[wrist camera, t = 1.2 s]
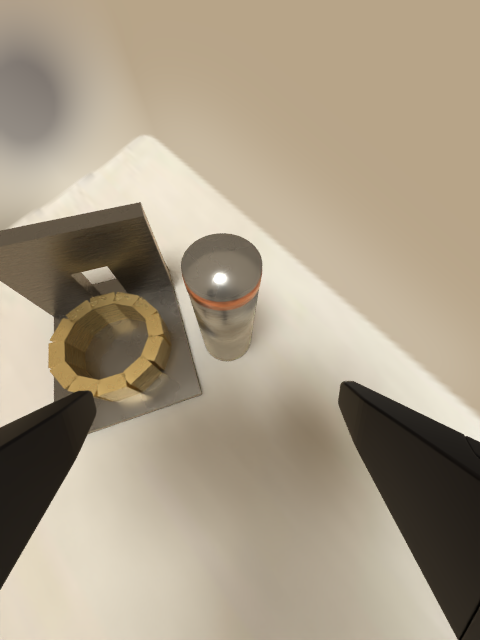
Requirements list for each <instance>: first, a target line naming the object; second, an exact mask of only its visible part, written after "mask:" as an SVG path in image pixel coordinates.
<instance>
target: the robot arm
mask: <svg viewBox="0 0 480 640" xmlns="http://www.w3.org/2000/svg"><path fill="white" fill-rule="evenodd" d="M338 404H339V408H340V410H341V413H342V415H343V418H344V420H345V422H346V425H347V427H348V430H349V432H350V435H351V437H352V440H353V442H354V444H355V447H356V448H357V450H358V452H359V454H360V456H361V458H362V460H363V462H364V464H365V466H366V468H367V469H368V471H369V473H370V475H371V477H372V479H373V481H374V483H375V485H376V486H377V488H378V490H379V492H380V494H381V496H382V498H383V500H384V501H385V503H386V505H387V507H388V509H389V511H390V513H391V515H392V517H393V518H394V520H395V522H396V524H397V526H398V528H399V530H400V532H401V534H402V535H403V537H404V539H405V541H406V543H407V545H408V547H409V549H410V550H411V552H412V554H413V556H414V558H415V560H416V562H417V564H418V566H419V567H420V569H421V571H422V573H423V575H424V577H425V579H426V581H427V582H428V584H429V586H430V588H431V590H432V592H433V594H434V596H435V598H436V599H437V601H438V603H439V605H440V607H441V609H442V611H443V613H444V615H445V616H446V618H447V620H448V622H449V624H450V626H451V628H452V630H453V631H454V633H455V635H456V637H457V639H458V640H480V442H478V441H476V440H474V439H472V438H470V437H468V436H464V434H462V433H460V432H458V431H456V430H453V429H451V428H449V427H447V426H445V425H443V424H441V423H439V422H437V421H435V420H433V419H431V418H429V417H427V416H424V415H422V414H420V413H418V412H416V411H414V410H412V409H410V408H408V407H406V406H404V405H402V404H400V403H398V402H396V401H393V400H391V399H389V398H387V397H385V396H383V395H381V394H379V393H377V392H375V391H373V390H371V389H369V388H367V387H365V386H362V385H360V384H358V383H356V382H354V381H344V382H342V383H341V385H340V392H339V399H338ZM96 413H97V409H96V405H95V401H94V397H93V394H92V392H91V391H89V390H85V391H76V392H74V393H72V394H70V395H68V396H66V397H64V398H62V399H59V400H57V401H55V402H53V403H51V404H49V405H47V406H45V407H43V408H41V409H38V410H36V411H34V412H32V413H30V414H28V415H26V416H24V417H22V418H20V419H17V420H15V421H13V422H11V423H9V424H7V425H5V426H3V427H1V428H0V589H1V588H2V586H3V584H4V583H5V581H6V579H7V577H8V576H9V574H10V572H11V570H12V569H13V567H14V565H15V564H16V562H17V560H18V558H19V557H20V555H21V553H22V552H23V550H24V548H25V546H26V545H27V543H28V541H29V539H30V538H31V536H32V534H33V533H34V531H35V529H36V527H37V526H38V524H39V522H40V520H41V519H42V517H43V515H44V514H45V512H46V510H47V508H48V507H49V505H50V503H51V501H52V500H53V498H54V496H55V495H56V493H57V491H58V489H59V488H60V486H61V484H62V482H63V481H64V479H65V477H66V476H67V474H68V472H69V470H70V469H71V467H72V465H73V463H74V462H75V460H76V458H77V456H78V454H79V452H80V450H81V447H82V445H83V443H84V441H85V439H86V437H87V434H88V432H89V430H90V428H91V426H92V424H93V421H94V419H95V417H96Z"/></svg>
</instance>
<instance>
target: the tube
mask: <svg viewBox="0 0 480 640" xmlns="http://www.w3.org/2000/svg"><path fill="white" fill-rule="evenodd" d="M181 271H182V276H183V280H184V283H185V286H186V289H187V292H188V293H189V296H190V300H191V303H192V306H193V309H194V312H195V315H196V318H197V321H198V324H199V328H200V331H201V334H202V337H203V340H204V343H205V346H206V349H207V350H208V352H209V353H210V354H211V355H212V356H213V357H214V358H216V359H218V360H222V361H233V360H236V359H238V358H240V357H242V356H243V355H244V354H245V353H246V352H247V350H248V348H249V346H250V341H251V335H252V329H253V322H254V316H255V310H256V303H257V297H258V291H259V287H260V282H261V276H262V259H261V256H260V253H259V252H258V250H257V249H256V247H255V246H254V245H253V244H252V243H250V242H249V241H248V240H246V239H244V238H242V237H240V236H236V235H232V234H212V235H208V236H205V237H203V238H201V239H199V240H197V241H195V242H194V243H193V244H192V245H190V246H189V248H188V249H187V250H186V252H185V253H184V255H183V258H182V261H181Z"/></svg>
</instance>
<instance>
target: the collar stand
mask: <svg viewBox="0 0 480 640" xmlns="http://www.w3.org/2000/svg"><path fill="white" fill-rule="evenodd" d="M105 266H108V268H109V269H110V270H111V272H112V273H113V274H114V276H115V277H116V278H117V279H114V280H110V281H106V282H102V283H98V284H94V285H92V284H91V283H90V282H89V280H88V279H87V278H86V277H85V276H84V275H83V274H82V273H81V272H84V271H88V270H92V269H96V268H101V267H105ZM0 281H1V282H3V283H4V284H6V285H7V286H9V287H10V288H12V289H13V290H15V291H16V292H18V293H19V294H21V295H22V296H24V297H25V298H27V299H28V300H30V301H31V302H33V303H34V304H36V305H37V306H39V307H40V308H42V309H43V310H45V311H46V312H48V313H49V314H51V315H52V316H54V334H53V336H52V337H51V339H50V341H52V342H53V343H49V366H48V368H51V370H50V372H51V373H52V374H53V376H54V402H55V401H57V400H59V399H62V398H64V397H66V396H68V395H70V394H72V393H74V392H76V391H85V390H89V391H91V392H92V394H93V397H94V401H95V405H96V409H97V413H96V417H95V419H94V421H93V424H92V426H91V428H90V430H89V432H88V434H89V433H92V432H95V431H98V430H101V429H104V428H107V427H110V426H112V425H115V424H118V423H121V422H124V421H127V420H130V419H133V418H136V417H138V416H141V415H144V414H147V413H150V412H153V411H156V410H159V409H161V408H164V407H167V406H170V405H173V404H176V403H179V402H182V401H185V400H187V399H190V398H193V397H196V396H199V395H202V393H201V389H200V386H199V382H198V378H197V374H196V371H195V367H194V363H193V359H192V356H191V352H190V348H189V344H188V341H187V337H186V333H185V329H184V326H183V322H182V318H181V314H180V311H179V307H178V303H177V299H176V296H175V292H174V288H173V284H172V281H171V277H170V273H169V269H168V267H167V266H166V265H165V262H164V260H163V257H162V255H161V252H160V250H159V247H158V245H157V242H156V240H155V237H154V235H153V232H152V230H151V227H150V225H149V222H148V220H147V217H146V215H145V212H144V210H143V207H142V205H141V202H140V203H135V204H130V205H125V206H120V207H115V208H110V209H105V210H100V211H95V212H90V213H85V214H81V215H76V216H71V217H66V218H61V219H56V220H51V221H46V222H41V223H36V224H31V225H26V226H21V227H16V228H12V229H7V230H2V231H0Z"/></svg>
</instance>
